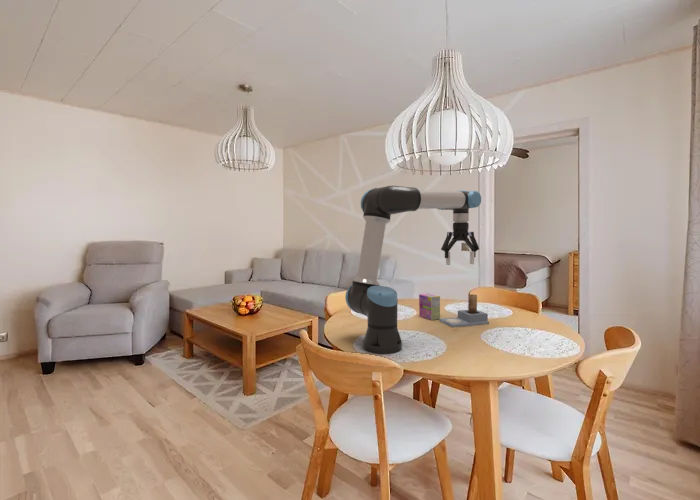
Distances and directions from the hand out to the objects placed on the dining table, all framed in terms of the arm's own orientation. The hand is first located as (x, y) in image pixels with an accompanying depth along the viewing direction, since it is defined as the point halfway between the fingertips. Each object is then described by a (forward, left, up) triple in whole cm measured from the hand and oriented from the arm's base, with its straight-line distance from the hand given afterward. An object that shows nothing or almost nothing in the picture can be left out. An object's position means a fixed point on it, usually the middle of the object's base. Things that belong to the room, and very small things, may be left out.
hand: (460, 264), depth 175 cm
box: (+8, +13, -28) cm, 32 cm away
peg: (-6, -4, -27) cm, 28 cm away
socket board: (-6, +2, -28) cm, 29 cm away
